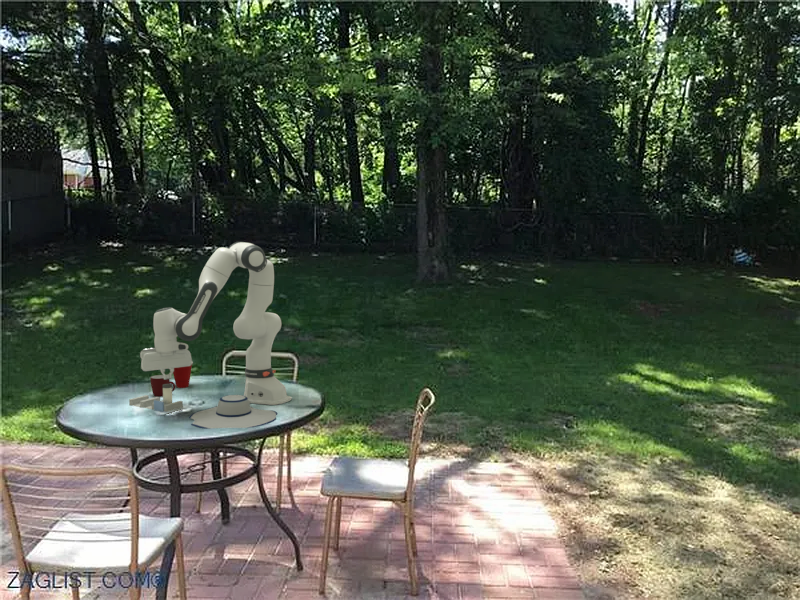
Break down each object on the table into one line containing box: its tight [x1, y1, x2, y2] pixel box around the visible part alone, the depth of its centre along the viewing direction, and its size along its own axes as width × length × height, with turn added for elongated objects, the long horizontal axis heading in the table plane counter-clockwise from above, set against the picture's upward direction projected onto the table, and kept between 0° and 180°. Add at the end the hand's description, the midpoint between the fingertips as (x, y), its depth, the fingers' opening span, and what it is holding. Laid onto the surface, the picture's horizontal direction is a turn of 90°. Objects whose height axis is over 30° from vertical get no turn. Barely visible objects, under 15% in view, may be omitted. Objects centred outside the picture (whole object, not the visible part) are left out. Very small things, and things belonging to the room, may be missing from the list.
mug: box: [150, 374, 176, 398], centre depth 316 cm, size 11×8×10 cm
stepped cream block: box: [128, 394, 184, 415], centre depth 296 cm, size 22×10×6 cm, turn 61°
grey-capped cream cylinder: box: [162, 384, 173, 405], centre depth 292 cm, size 4×4×10 cm
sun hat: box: [188, 394, 278, 429], centre depth 284 cm, size 36×36×9 cm
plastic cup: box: [172, 361, 194, 389], centre depth 339 cm, size 11×11×12 cm
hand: (167, 379), depth 292 cm, fingers closed
